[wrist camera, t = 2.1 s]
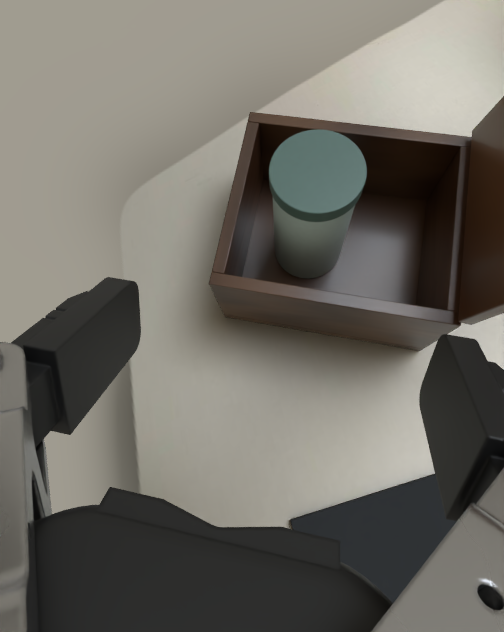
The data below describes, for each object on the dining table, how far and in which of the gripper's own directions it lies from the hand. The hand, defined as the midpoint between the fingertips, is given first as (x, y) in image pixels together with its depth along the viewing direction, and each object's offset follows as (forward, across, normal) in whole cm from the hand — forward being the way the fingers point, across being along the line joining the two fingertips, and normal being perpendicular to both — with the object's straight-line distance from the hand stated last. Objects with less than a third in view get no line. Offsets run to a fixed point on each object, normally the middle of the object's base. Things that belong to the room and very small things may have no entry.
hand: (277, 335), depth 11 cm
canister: (+22, 0, +5) cm, 22 cm away
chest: (+22, -2, +6) cm, 23 cm away
